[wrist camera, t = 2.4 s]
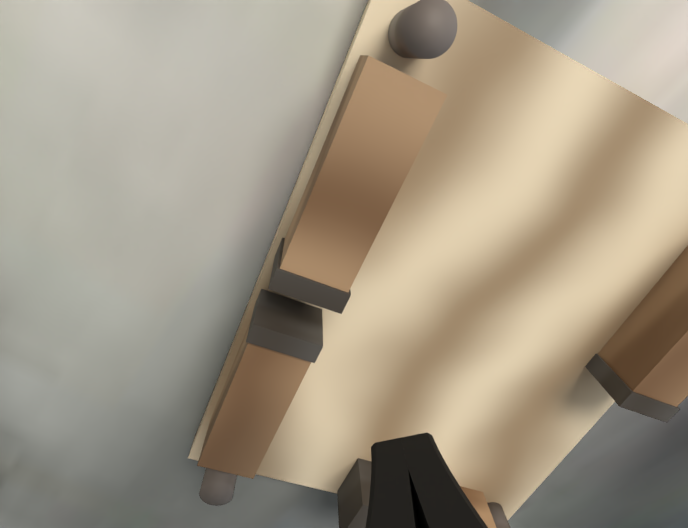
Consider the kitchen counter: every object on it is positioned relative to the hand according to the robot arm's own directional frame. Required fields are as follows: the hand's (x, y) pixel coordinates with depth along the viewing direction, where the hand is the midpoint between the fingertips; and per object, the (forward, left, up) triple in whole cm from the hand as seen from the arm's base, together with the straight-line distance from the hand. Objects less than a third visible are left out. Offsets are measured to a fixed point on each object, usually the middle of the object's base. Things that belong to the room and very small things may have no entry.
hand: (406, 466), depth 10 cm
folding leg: (+3, -4, -8) cm, 9 cm away
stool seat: (-5, +1, -9) cm, 11 cm away
